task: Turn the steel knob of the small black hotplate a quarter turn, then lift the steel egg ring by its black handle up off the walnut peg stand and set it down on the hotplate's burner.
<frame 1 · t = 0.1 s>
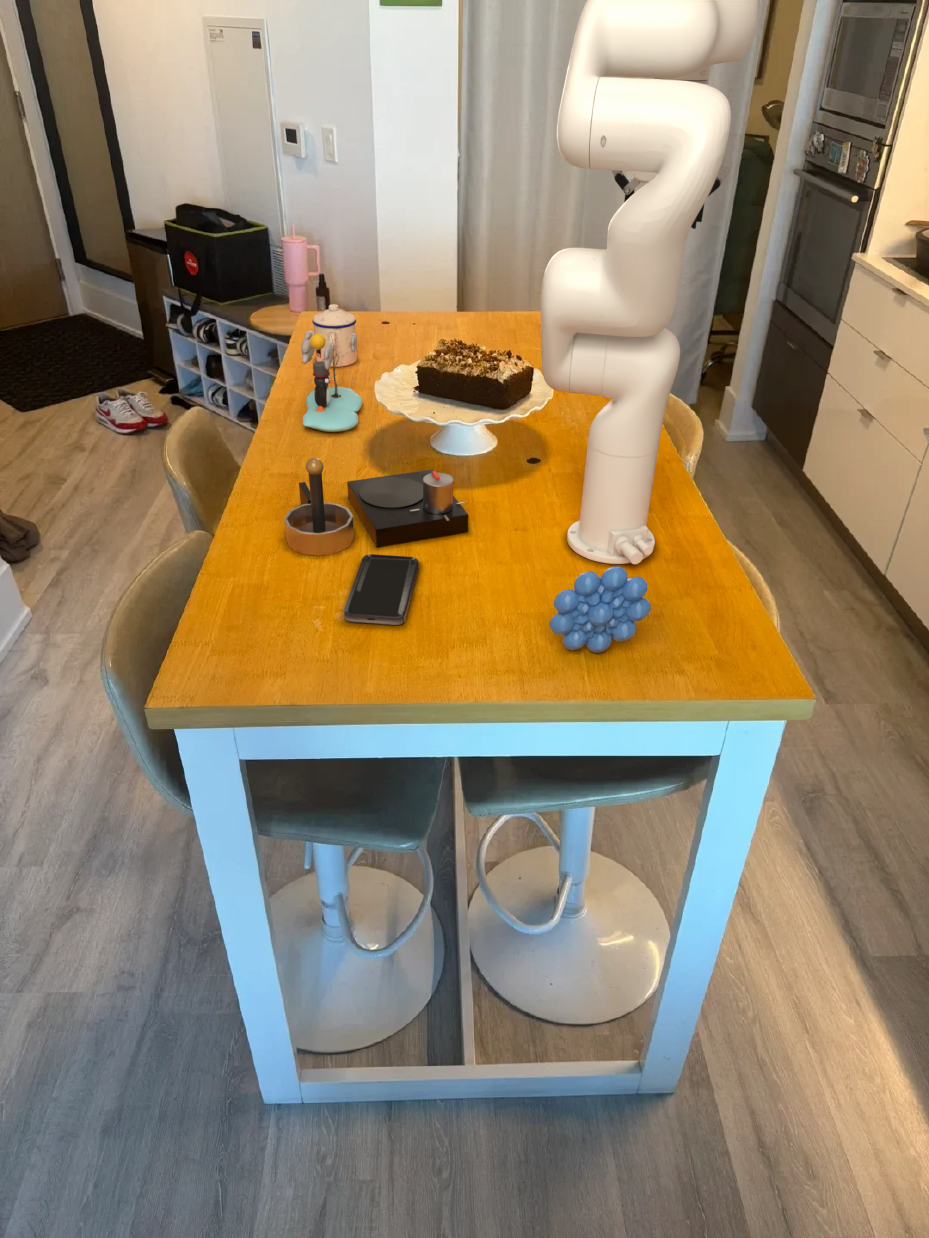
hand: (661, 224, 137), 37 cm above the table, tool pointing down, fingers open, 9 cm apart
peg stand: (320, 539, 131), on the table
blue knobbed flower shape: (594, 648, 111), on the table
hotplate: (406, 515, 137), on the table
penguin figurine: (332, 416, 169), on the table
burner: (392, 492, 137), on the hotplate, point 3 cm above the table
hotplate knob: (438, 492, 132), point 5 cm above the table, hinge at 0.0°
egg ring: (320, 539, 131), on the table
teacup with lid: (336, 364, 192), on the table
phone: (382, 592, 120), on the table
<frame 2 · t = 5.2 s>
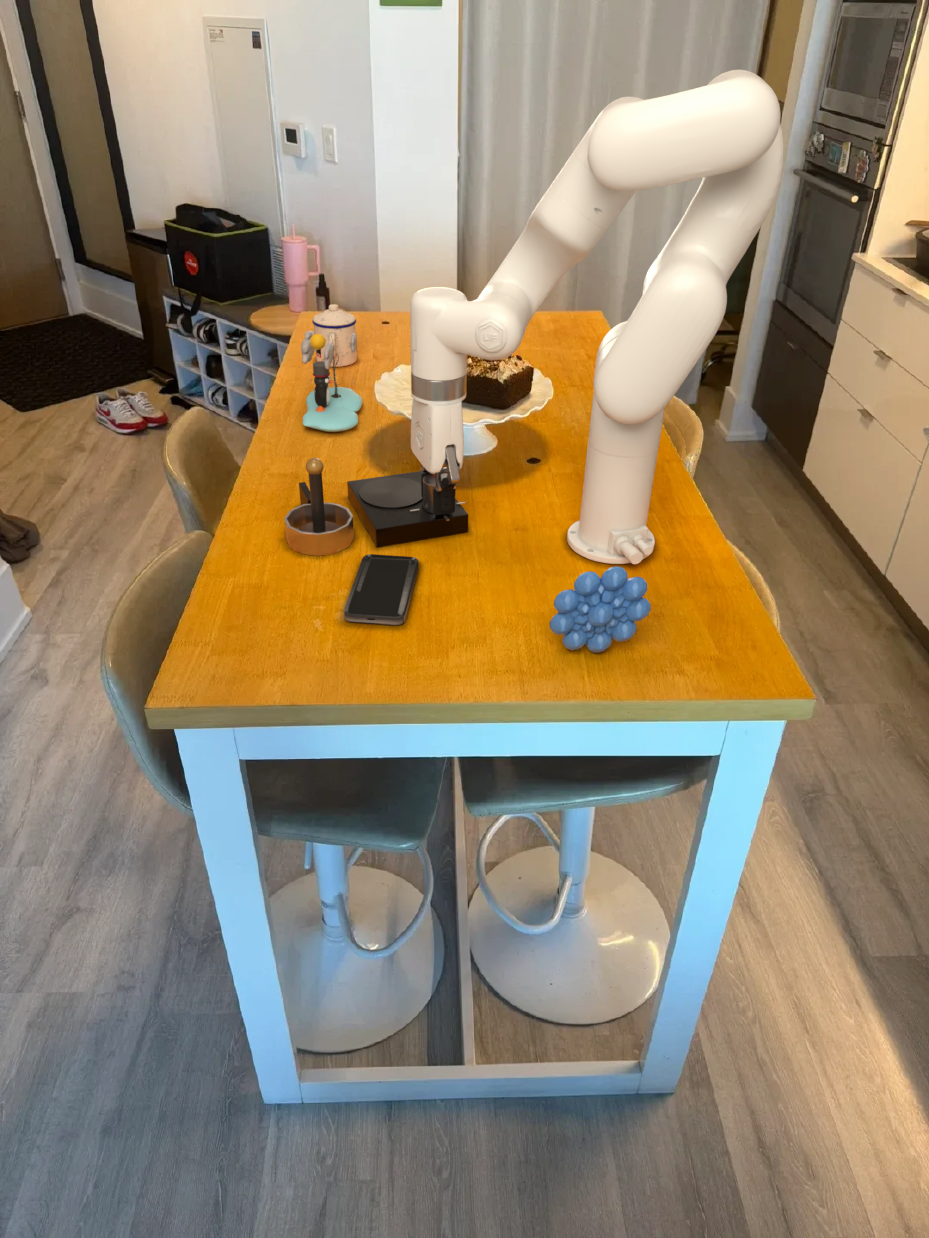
hand: (438, 504, 133), 4 cm above the table, tool pointing down, fingers closed on hotplate knob, 4 cm apart
hotplate knob: (438, 492, 132), point 5 cm above the table, hinge at 0.0°, touching gripper
everything else where it was.
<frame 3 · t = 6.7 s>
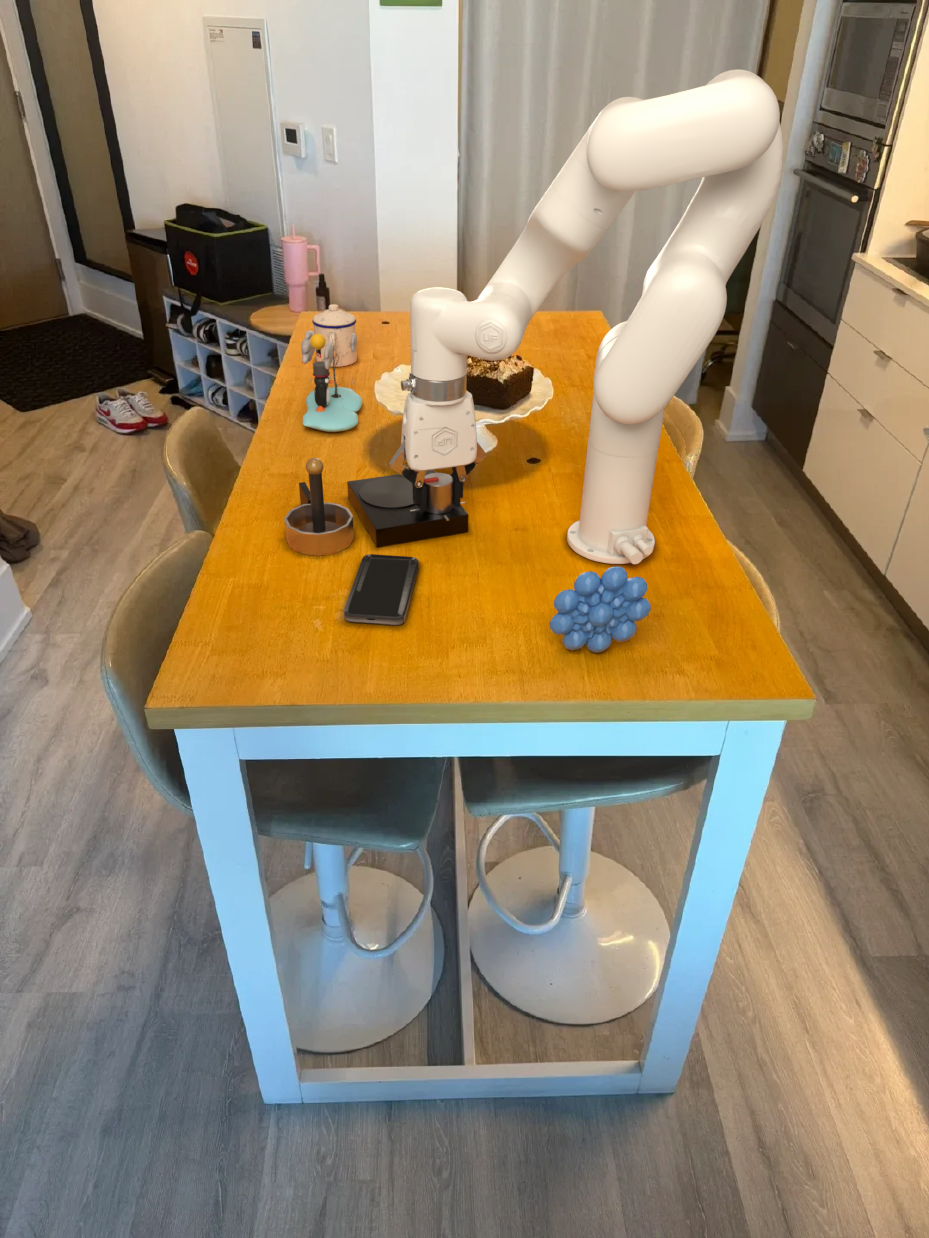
hand: (437, 504, 133), 4 cm above the table, tool pointing down, fingers open, 4 cm apart
hotplate knob: (438, 492, 132), point 5 cm above the table, hinge at 90.4°
everything else where it was.
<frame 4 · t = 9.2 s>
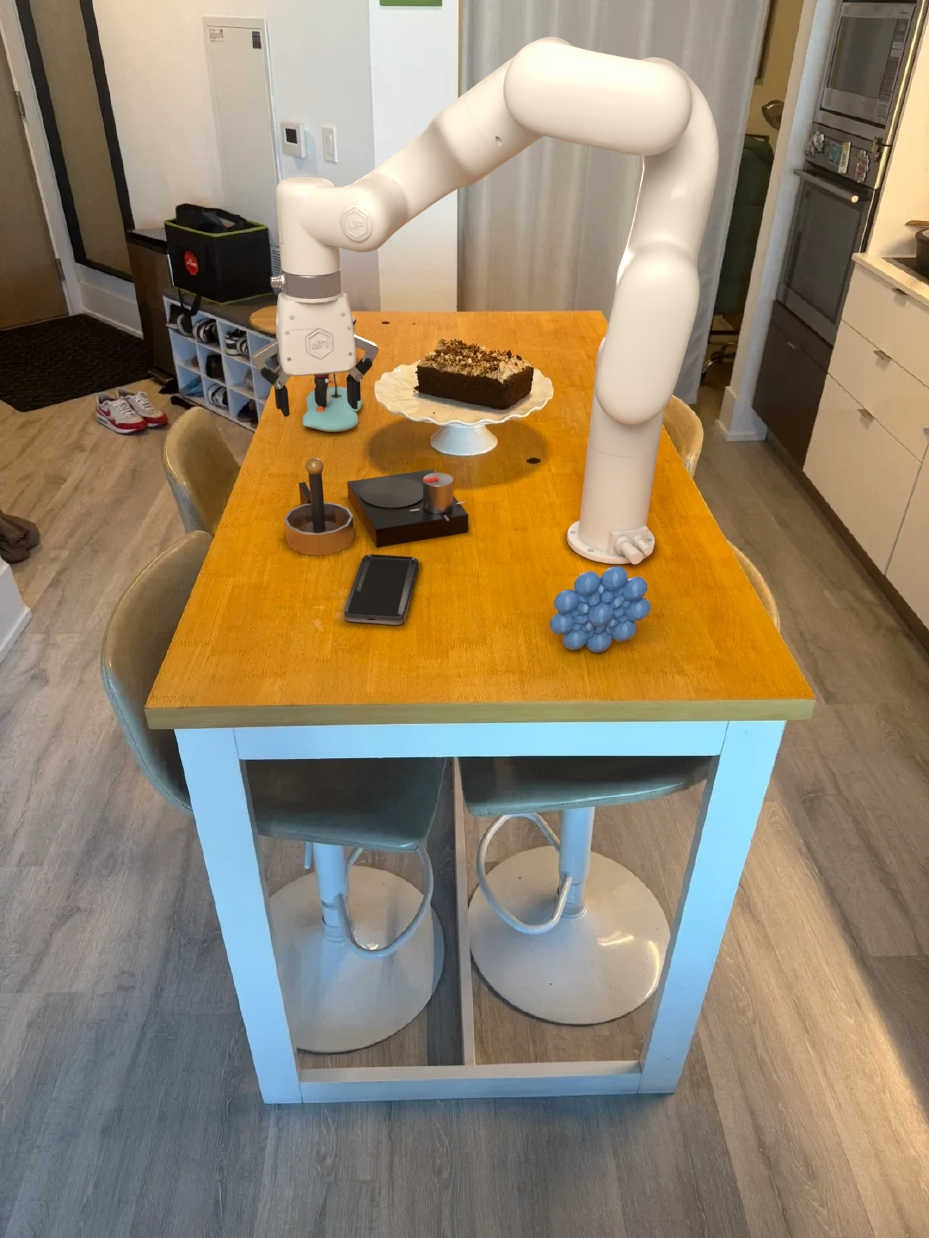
hand: (319, 409, 127), 17 cm above the table, tool pointing down, fingers open, 9 cm apart
nothing on the table moved.
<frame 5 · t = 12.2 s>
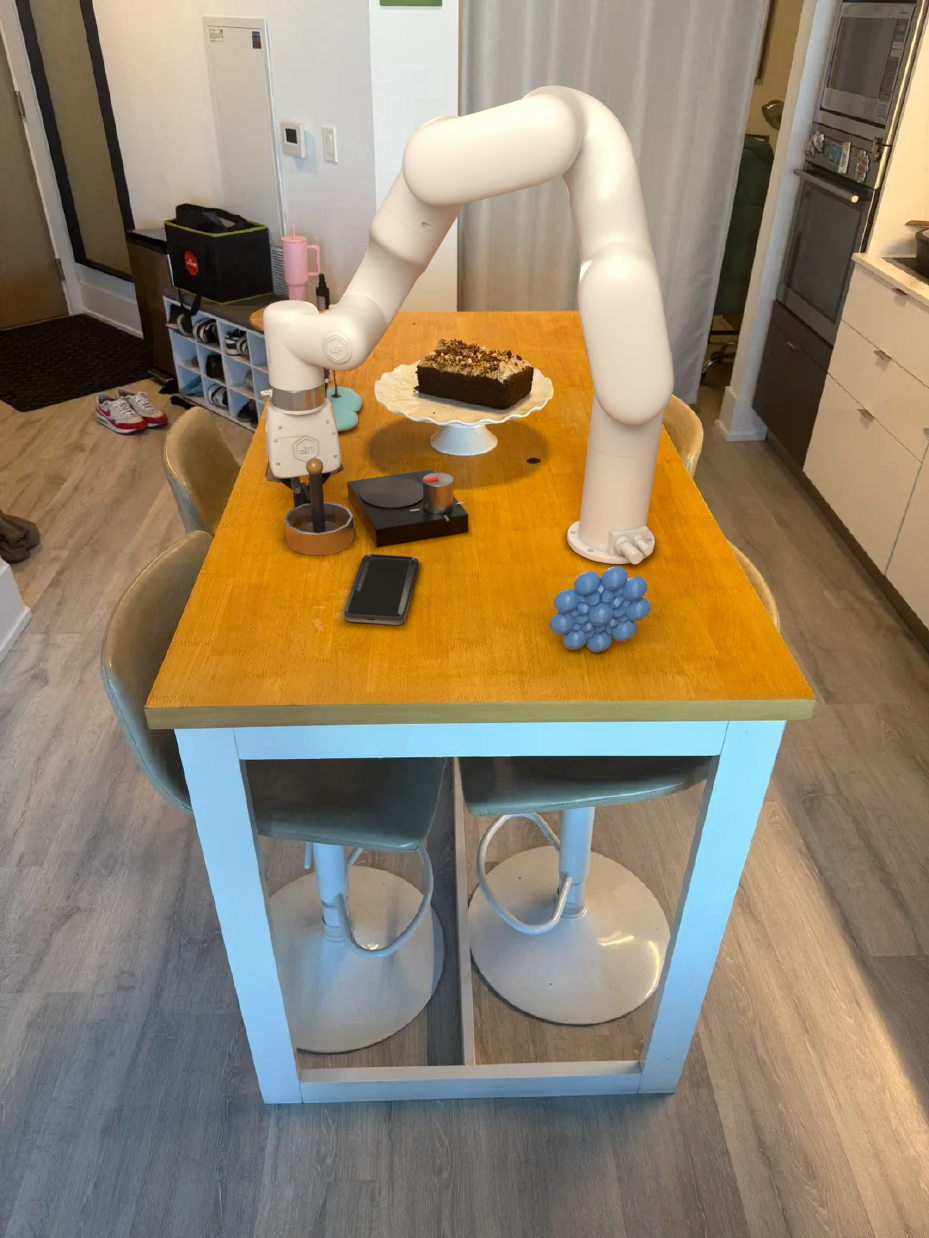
hand: (308, 511, 136), 1 cm above the table, tool pointing down, fingers closed on egg ring
egg ring: (320, 539, 131), on the table, touching gripper
everything else where it was.
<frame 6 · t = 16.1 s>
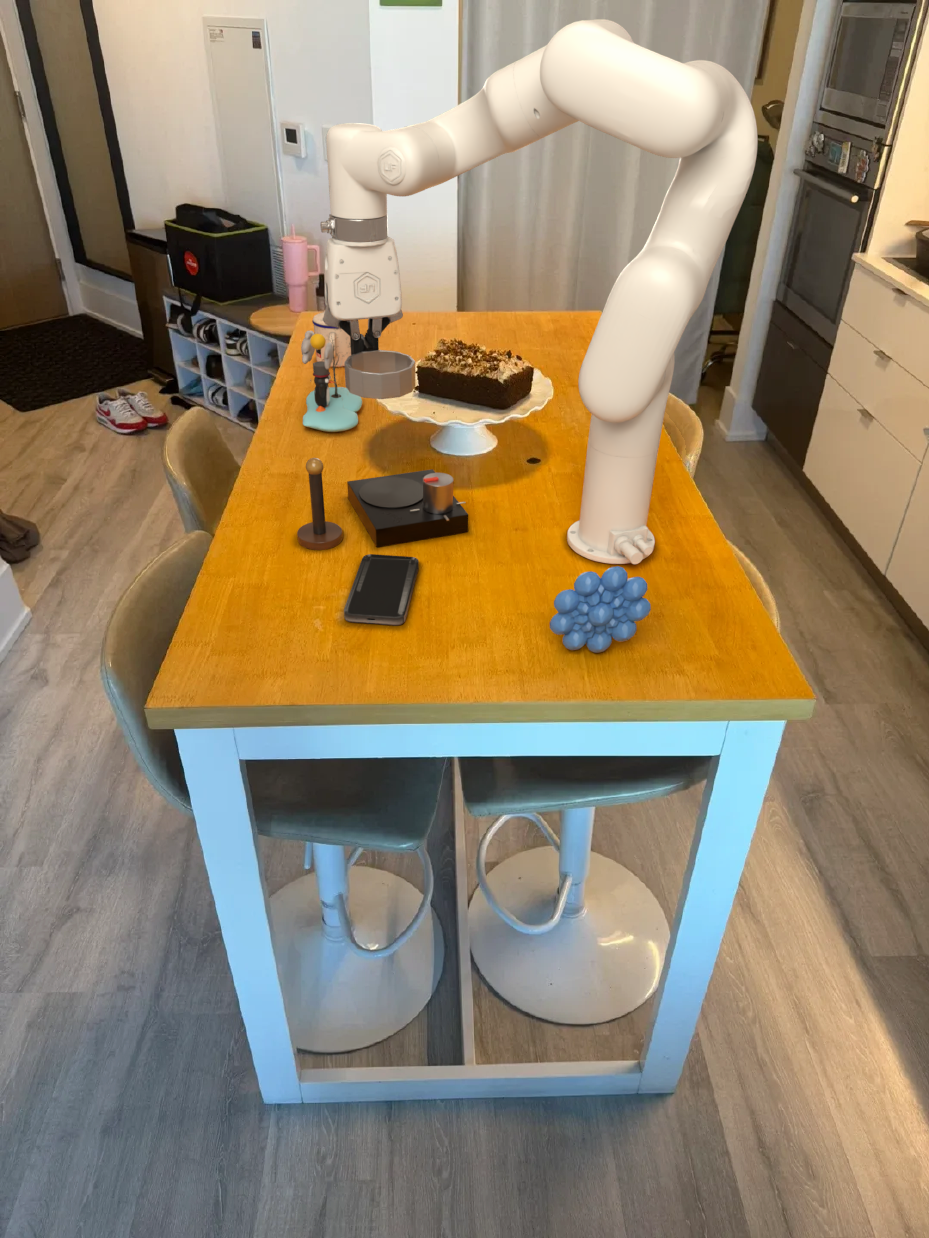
hand: (365, 363, 132), 21 cm above the table, tool pointing down, fingers closed on egg ring
egg ring: (380, 386, 126), point 20 cm above the table, touching gripper
everything else where it was.
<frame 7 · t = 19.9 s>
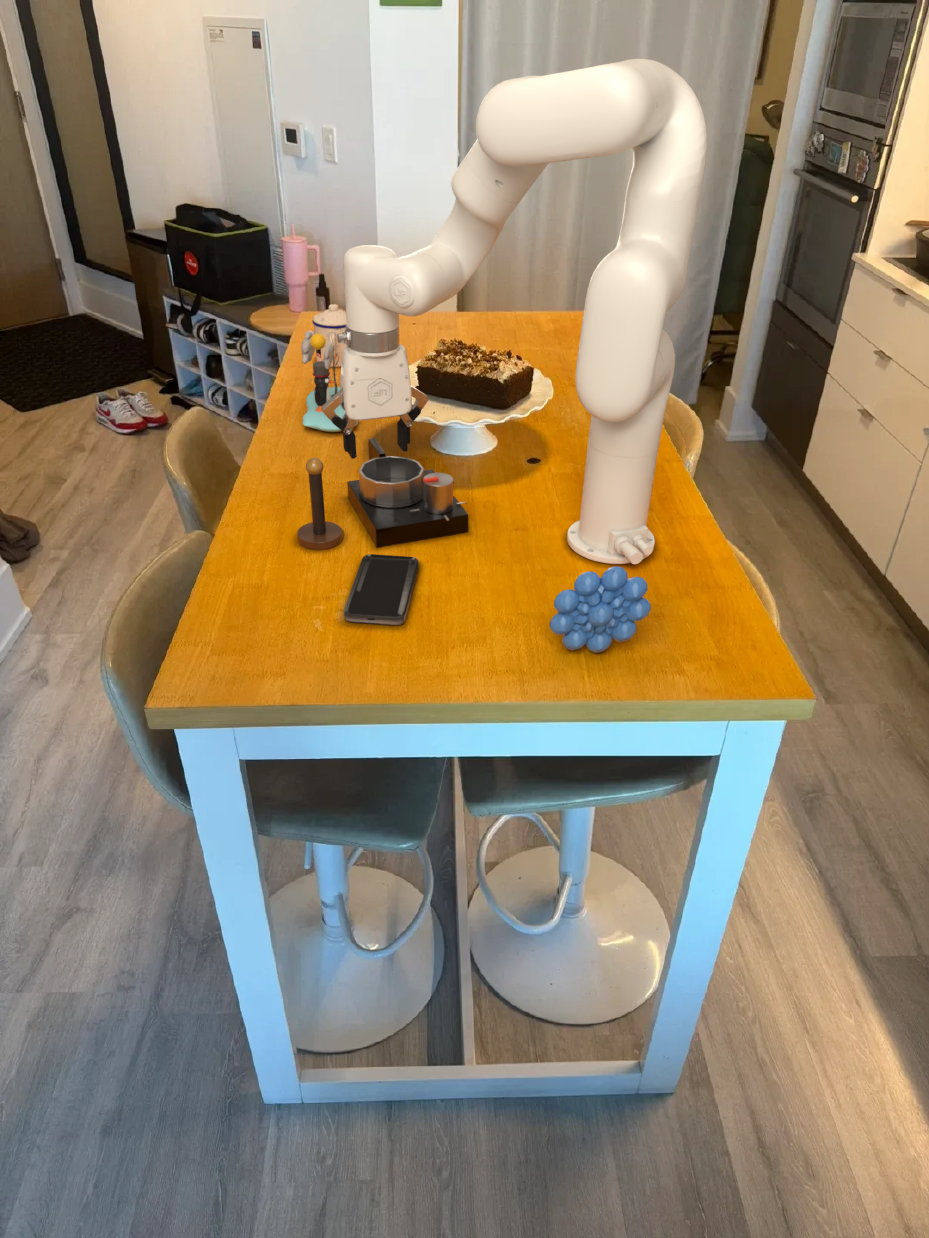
hand: (377, 451, 141), 6 cm above the table, tool pointing down, fingers open, 7 cm apart
egg ring: (392, 490, 137), point 3 cm above the table, touching burner
everything else where it was.
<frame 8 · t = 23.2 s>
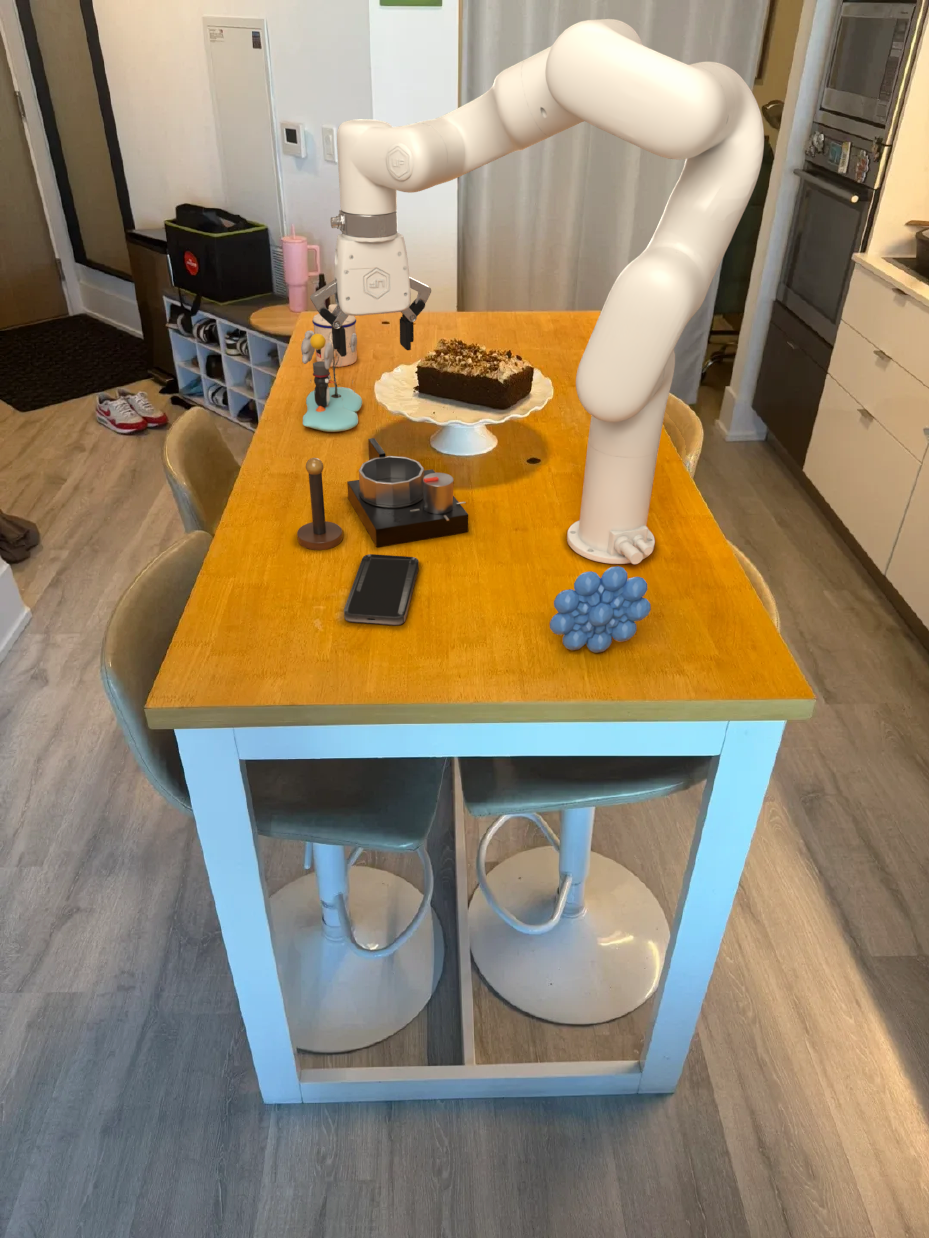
hand: (373, 350, 132), 22 cm above the table, tool pointing down, fingers open, 9 cm apart
nothing on the table moved.
at the end: hotplate knob at +90° (first picture: +0°); egg ring inside the target area on the hotplate (0.4 cm from its centre), point 3.2 cm above the hotplate's base; egg ring tilted 0° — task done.
